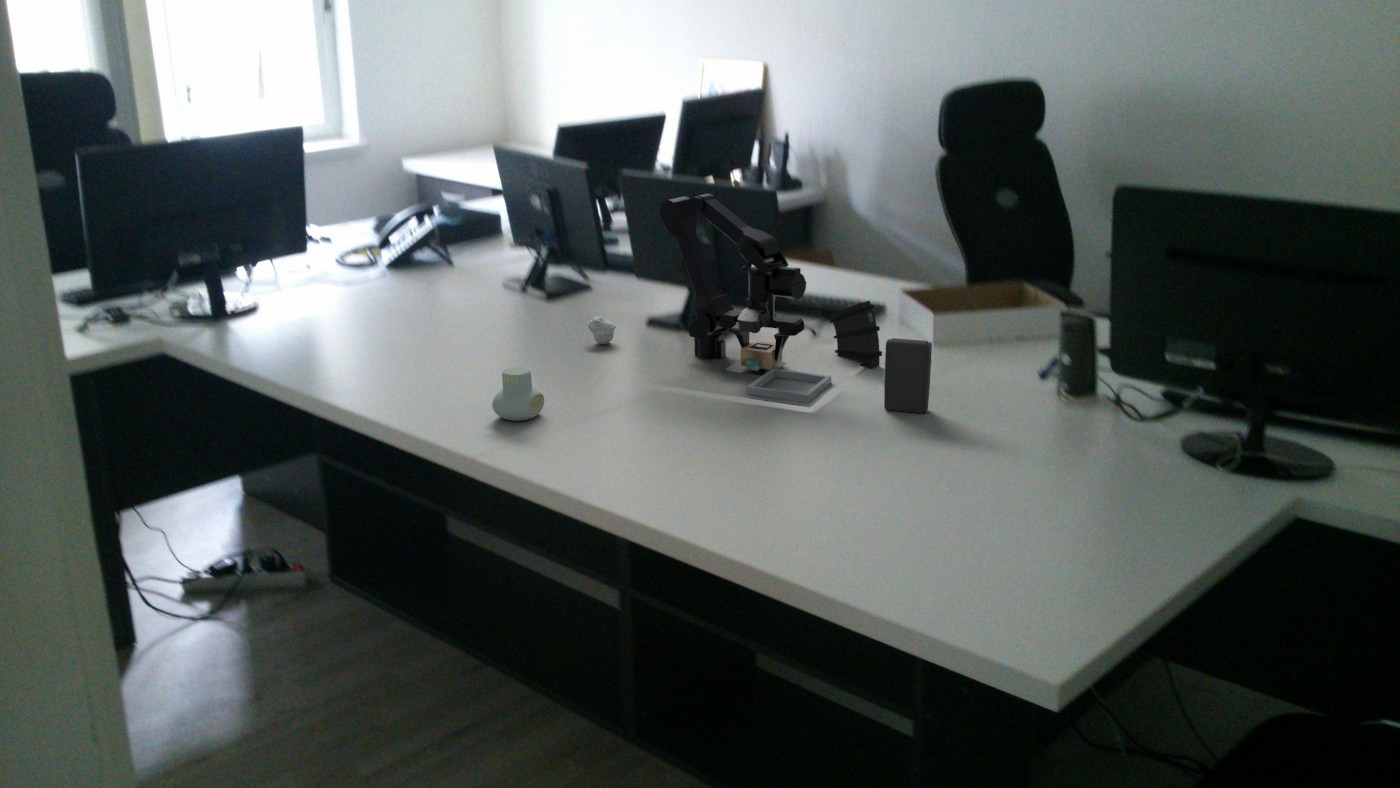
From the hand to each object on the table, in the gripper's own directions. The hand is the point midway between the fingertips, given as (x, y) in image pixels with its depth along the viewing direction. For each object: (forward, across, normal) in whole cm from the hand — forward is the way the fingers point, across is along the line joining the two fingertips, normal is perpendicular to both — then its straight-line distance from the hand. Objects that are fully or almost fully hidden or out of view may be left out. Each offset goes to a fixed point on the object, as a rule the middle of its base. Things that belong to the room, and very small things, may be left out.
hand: (761, 358), depth 273 cm
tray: (+3, +11, -11) cm, 16 cm away
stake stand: (+3, -2, 0) cm, 3 cm away
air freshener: (+3, -34, -48) cm, 59 cm away
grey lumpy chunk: (+3, -45, +4) cm, 45 cm away
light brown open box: (+1, 0, 0) cm, 1 cm away
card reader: (+3, +38, -12) cm, 40 cm away
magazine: (+3, +17, +16) cm, 23 cm away
